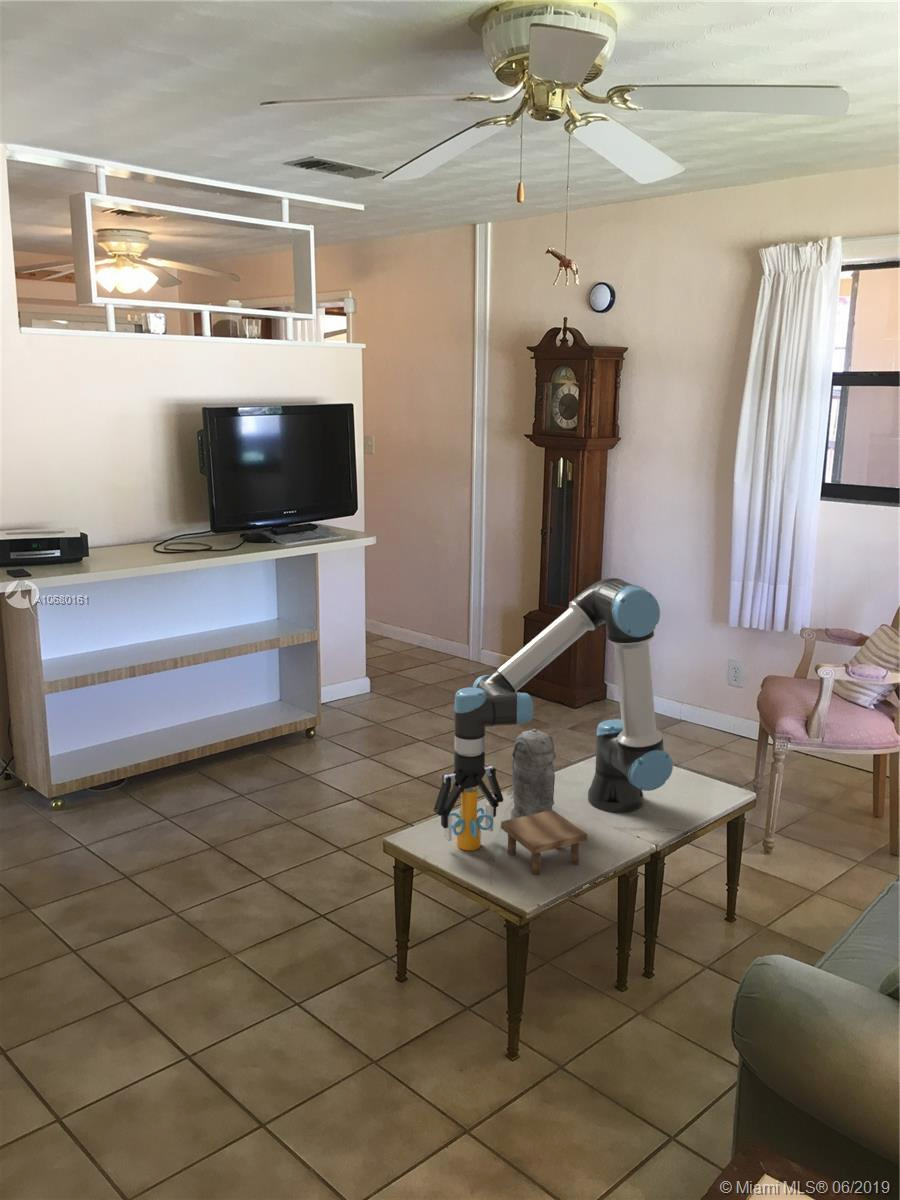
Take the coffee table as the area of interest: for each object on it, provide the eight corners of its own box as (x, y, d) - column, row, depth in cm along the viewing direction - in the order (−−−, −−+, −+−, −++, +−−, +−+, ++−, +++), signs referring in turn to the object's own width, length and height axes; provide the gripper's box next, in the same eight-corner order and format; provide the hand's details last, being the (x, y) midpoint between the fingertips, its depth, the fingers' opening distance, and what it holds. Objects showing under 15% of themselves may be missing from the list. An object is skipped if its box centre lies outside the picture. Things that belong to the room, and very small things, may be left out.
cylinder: (467, 831, 248) (467, 776, 245) (499, 843, 241) (500, 787, 238) (436, 848, 239) (436, 791, 235) (469, 860, 232) (470, 803, 229)
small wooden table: (551, 839, 244) (552, 809, 242) (586, 864, 231) (587, 833, 229) (500, 851, 237) (501, 821, 235) (533, 878, 224) (533, 847, 222)
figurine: (527, 805, 264) (529, 718, 258) (562, 823, 252) (565, 733, 247) (499, 813, 258) (501, 725, 253) (534, 833, 247) (536, 741, 241)
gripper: (503, 738, 243) (501, 818, 248) (419, 753, 233) (419, 837, 237) (518, 748, 237) (516, 830, 241) (433, 764, 226) (433, 850, 231)
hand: (468, 834), depth 239 cm, fingers closed on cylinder, 11 cm apart
